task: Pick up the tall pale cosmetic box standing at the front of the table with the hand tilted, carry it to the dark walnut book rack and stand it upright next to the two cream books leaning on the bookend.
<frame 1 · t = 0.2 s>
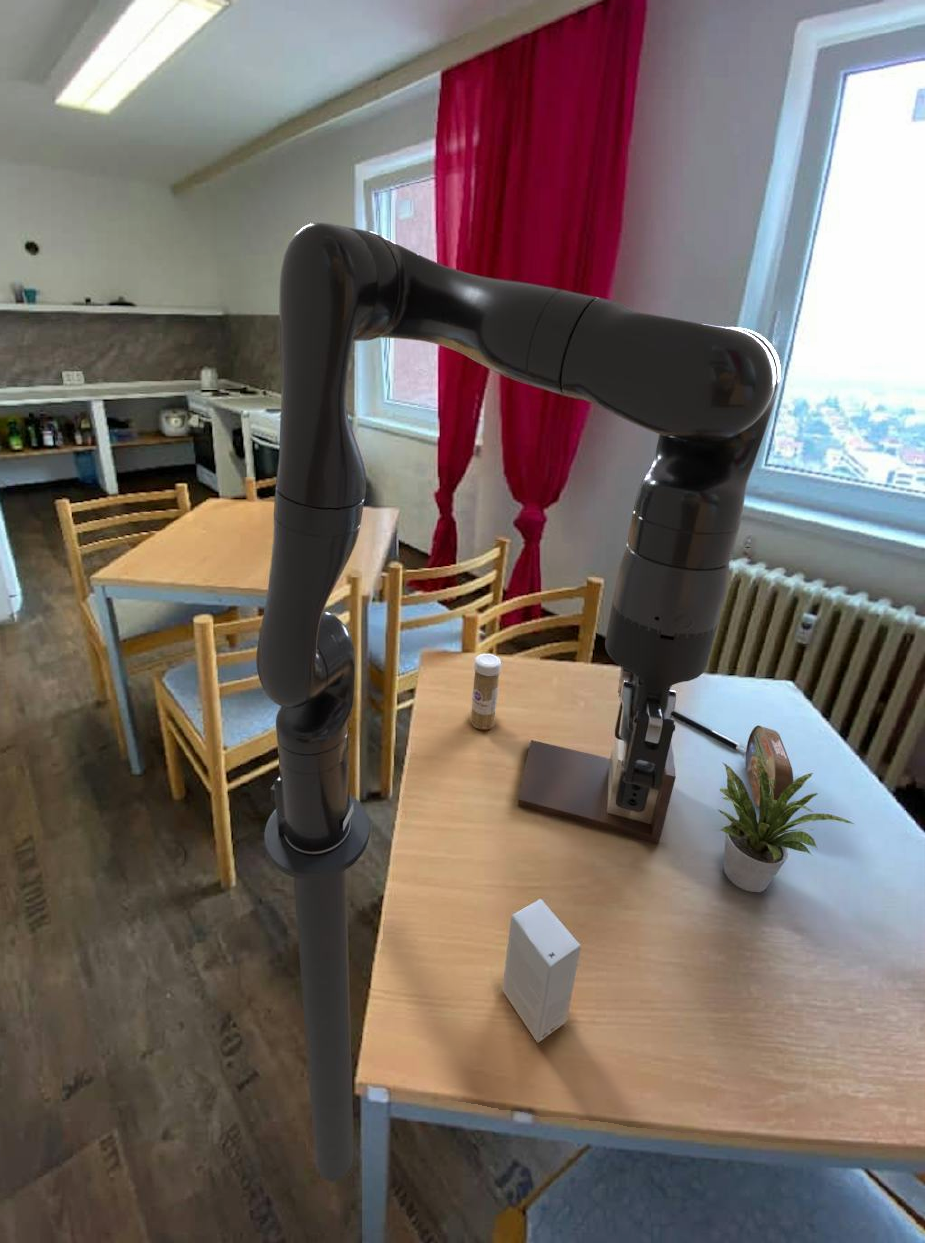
hand: (627, 770, 51), 32 cm above the table, tool pointing down, fingers open, 8 cm apart
book rack: (588, 789, 91), on the table
pen: (690, 725, 107), on the table
cosmetic box: (533, 1006, 63), on the table
house plant: (755, 876, 78), on the table
tin: (760, 788, 92), on the table
sprinkles bottle: (482, 723, 106), on the table
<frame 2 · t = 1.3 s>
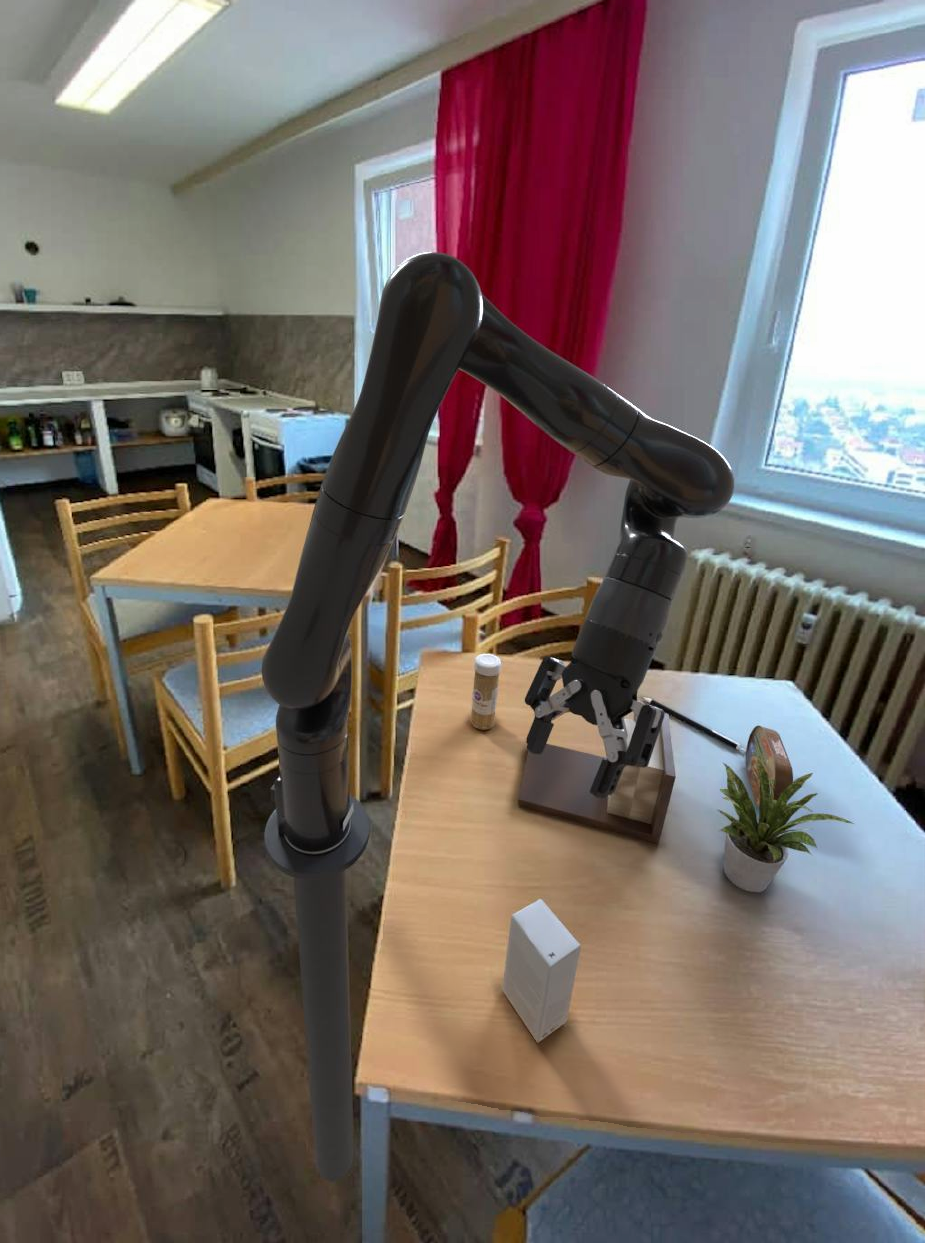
hand: (563, 773, 61), 25 cm above the table, tool tilted 30°, fingers open, 8 cm apart
nothing on the table moved.
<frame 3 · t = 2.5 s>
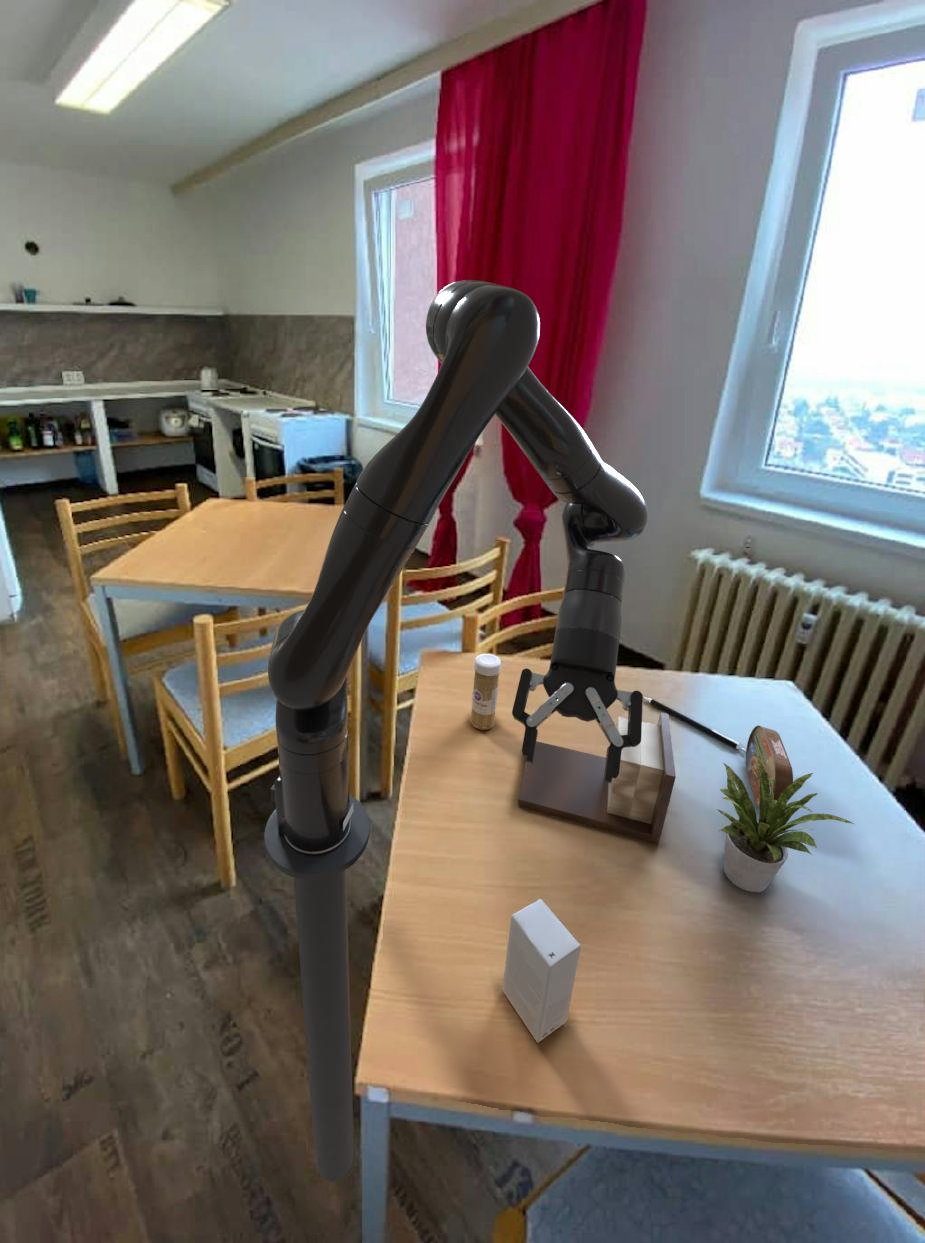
hand: (567, 772, 65), 21 cm above the table, tool tilted 45°, fingers open, 8 cm apart
nothing on the table moved.
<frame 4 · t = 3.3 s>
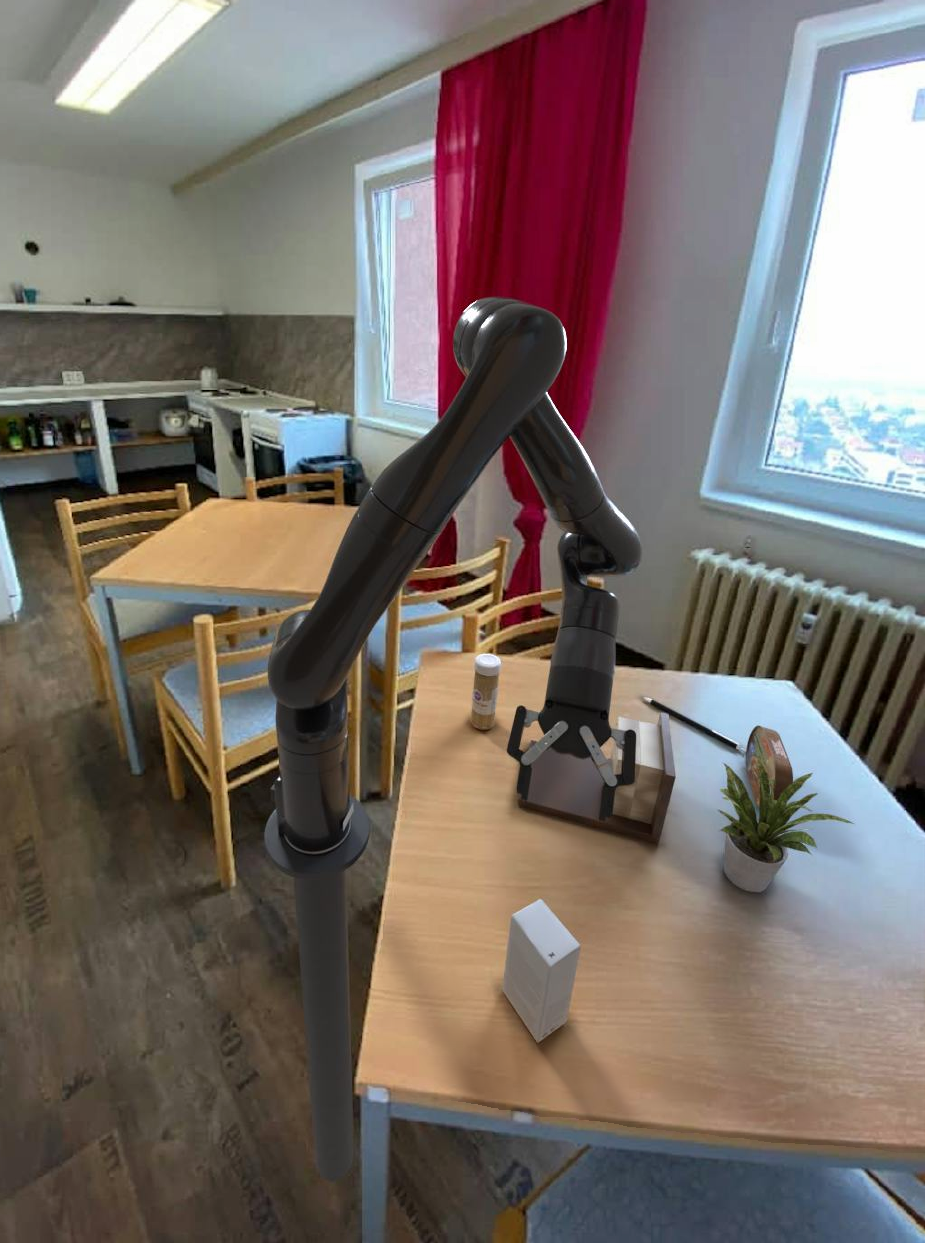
hand: (562, 811, 66), 17 cm above the table, tool tilted 45°, fingers open, 8 cm apart
nothing on the table moved.
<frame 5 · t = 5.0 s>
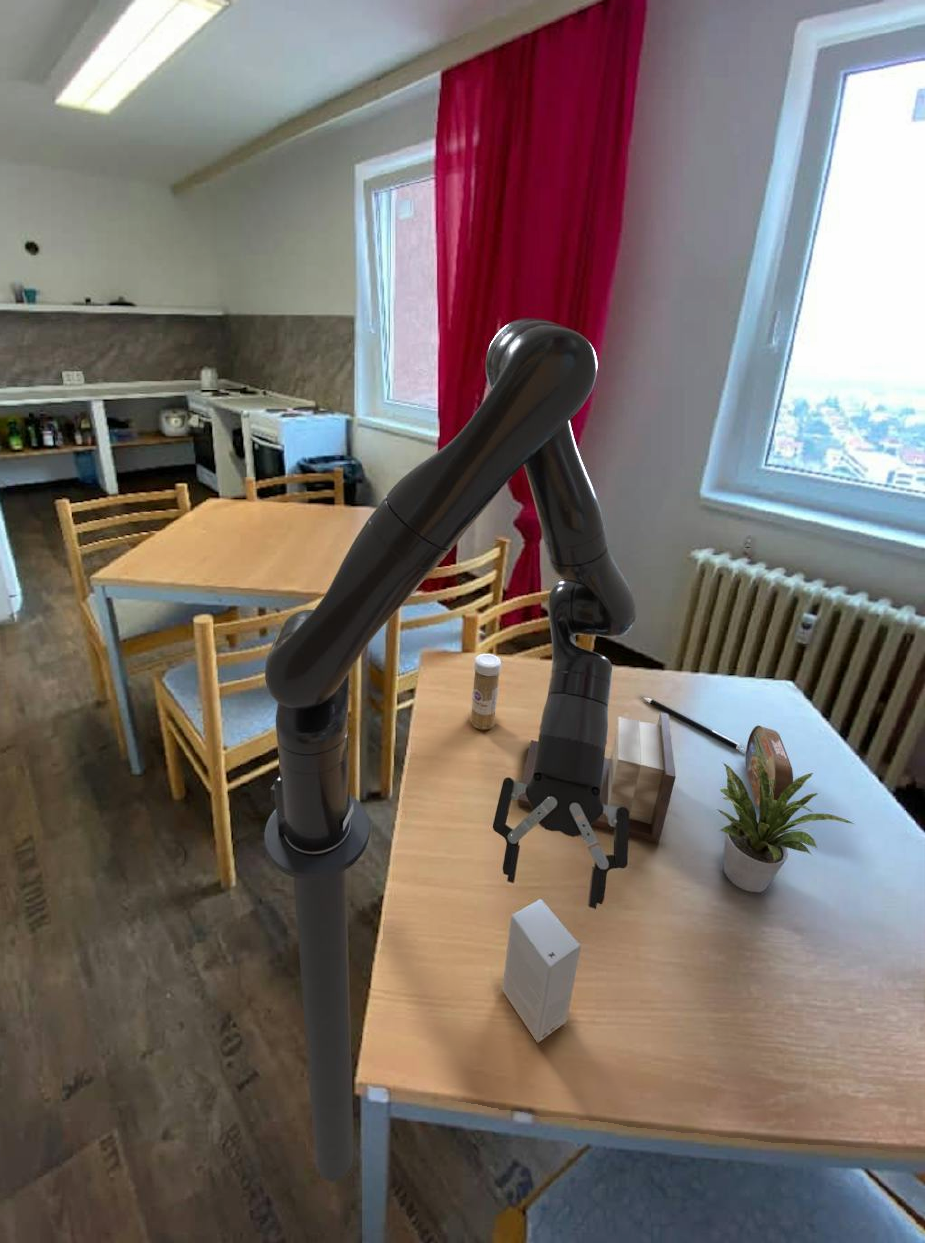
hand: (550, 894, 62), 12 cm above the table, tool tilted 45°, fingers open, 8 cm apart
nothing on the table moved.
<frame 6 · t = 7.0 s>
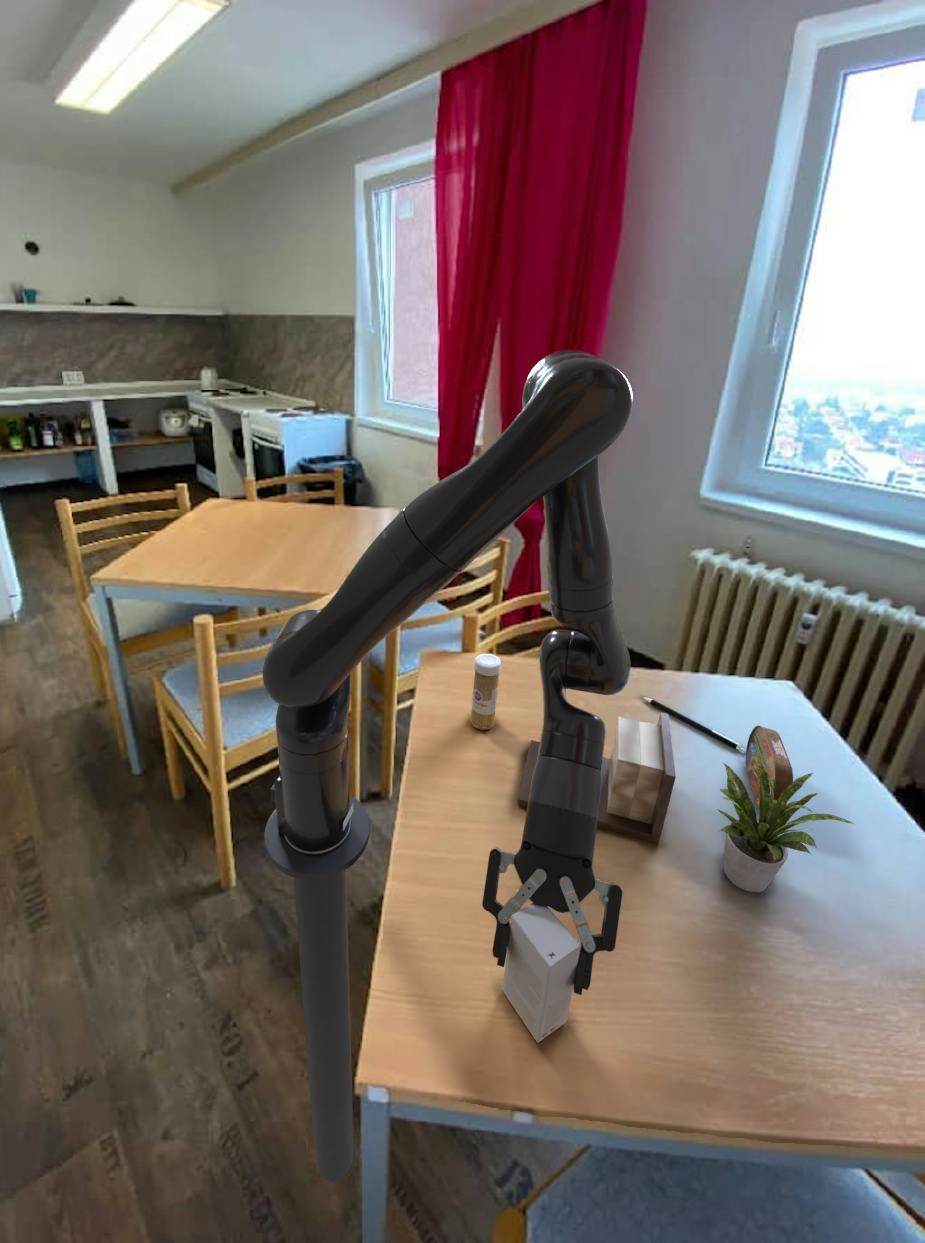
hand: (538, 977, 59), 7 cm above the table, tool tilted 45°, fingers closed on cosmetic box, 7 cm apart
cosmetic box: (533, 1006, 63), on the table, touching gripper
everything else where it was.
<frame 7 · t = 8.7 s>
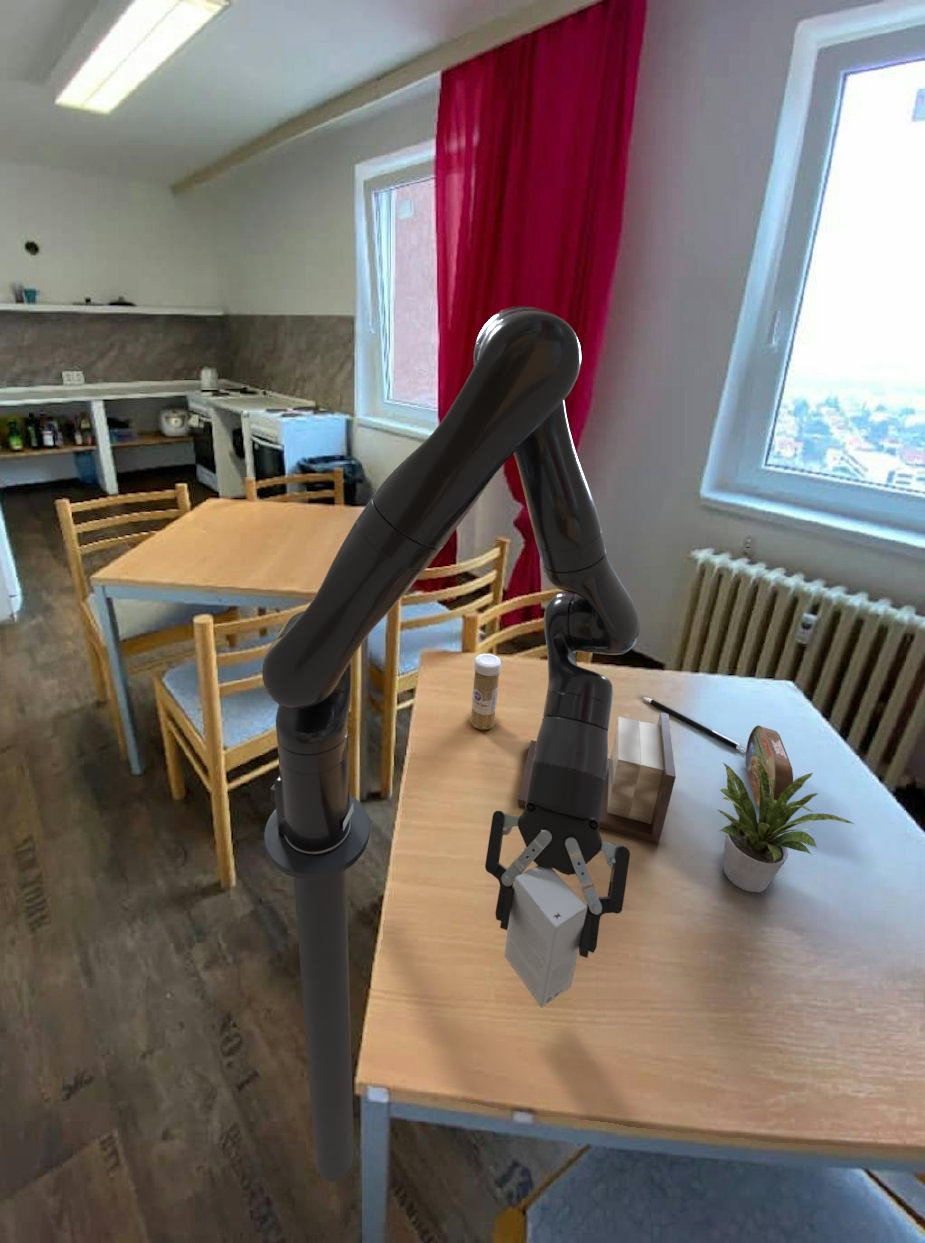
hand: (543, 941, 57), 12 cm above the table, tool tilted 45°, fingers closed on cosmetic box, 7 cm apart
cosmetic box: (536, 972, 61), point 5 cm above the table, touching gripper
everything else where it was.
when the fingers open (8 cm above the table, at t = 21.3 s): cosmetic box stays where it is, resting on book rack.
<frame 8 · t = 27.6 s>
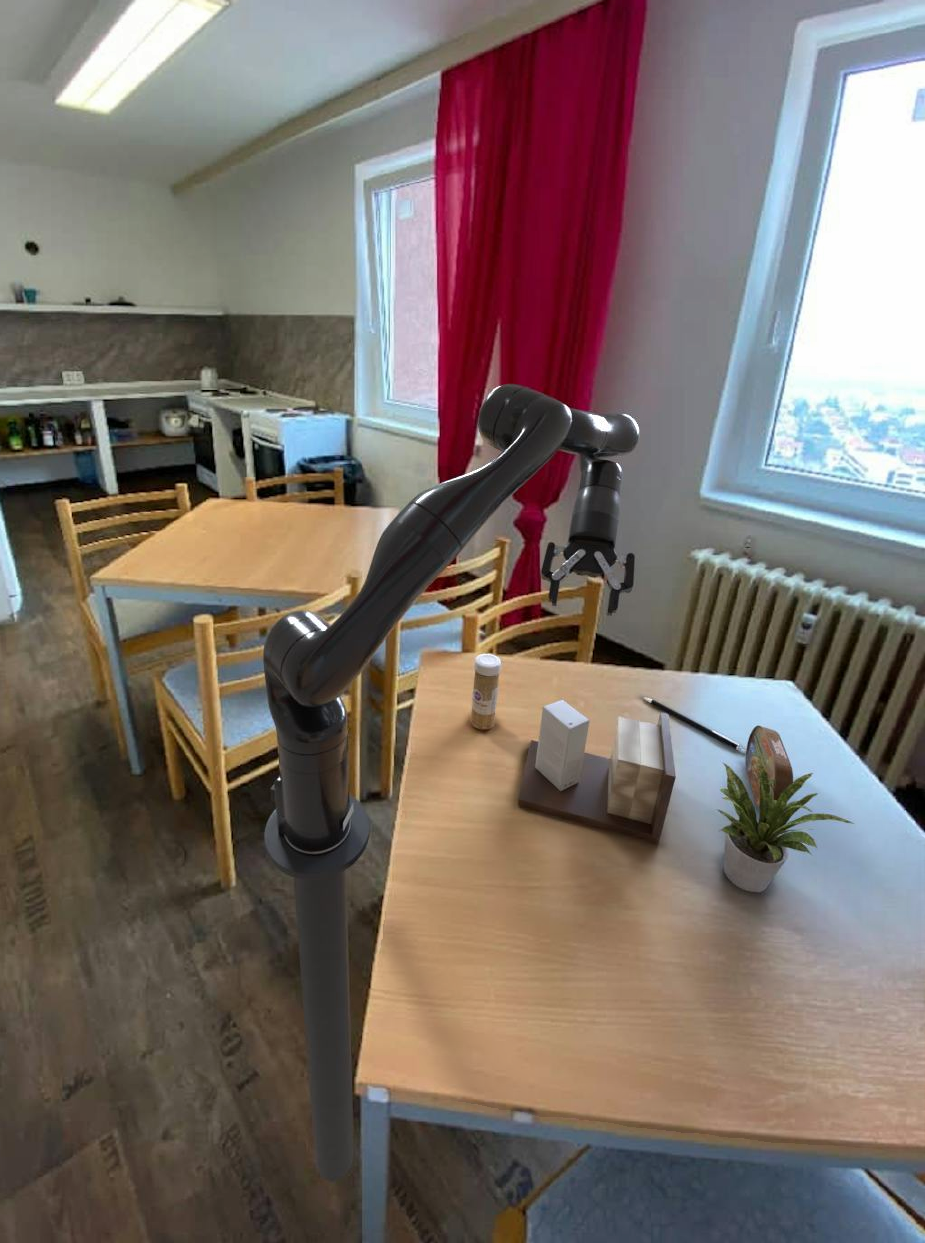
hand: (581, 609, 92), 26 cm above the table, tool tilted 45°, fingers open, 8 cm apart
cosmetic box: (556, 775, 93), point 1 cm above the table, touching book rack
everything else where it was.
at the end: cosmetic box inside the target area on the book rack (0.3 cm from its centre), point 1.0 cm above the book rack's base; cosmetic box tilted 0°; the gripper is holding nothing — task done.
